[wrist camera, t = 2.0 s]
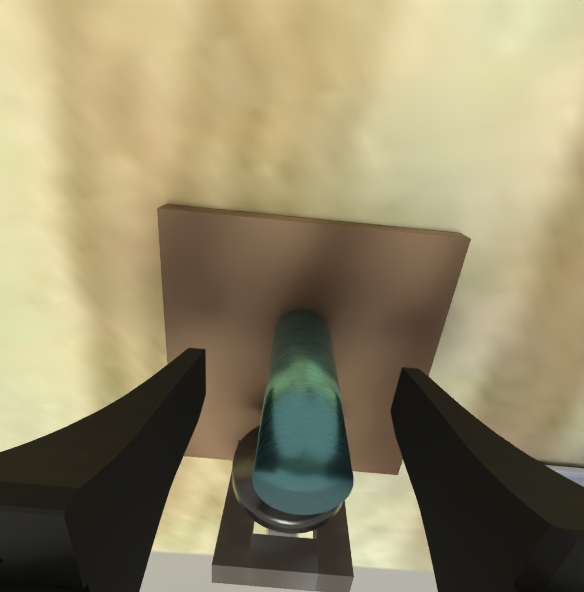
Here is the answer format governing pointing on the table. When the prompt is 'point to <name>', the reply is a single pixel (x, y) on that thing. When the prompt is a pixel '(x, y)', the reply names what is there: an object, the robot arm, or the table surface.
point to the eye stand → (259, 337)
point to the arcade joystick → (296, 434)
